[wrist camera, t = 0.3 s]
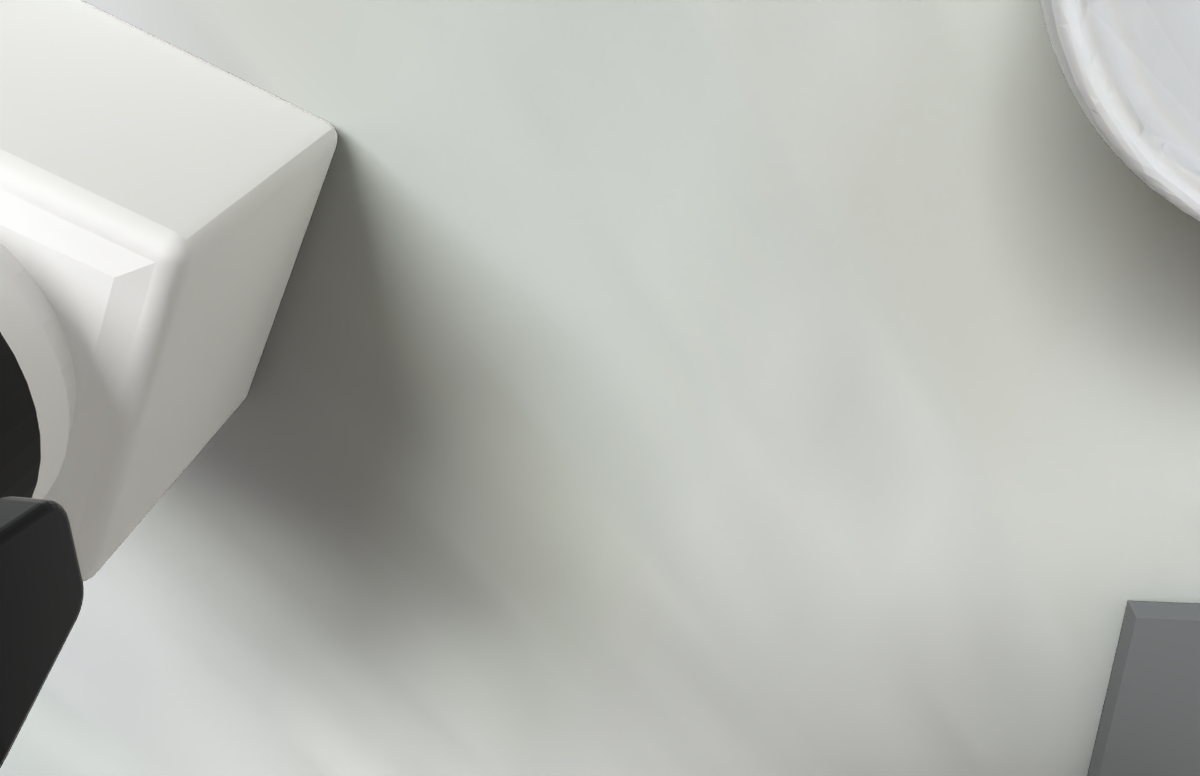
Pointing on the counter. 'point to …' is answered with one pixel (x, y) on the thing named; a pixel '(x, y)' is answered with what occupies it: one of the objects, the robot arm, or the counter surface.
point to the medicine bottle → (133, 257)
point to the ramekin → (1137, 84)
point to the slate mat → (1152, 695)
